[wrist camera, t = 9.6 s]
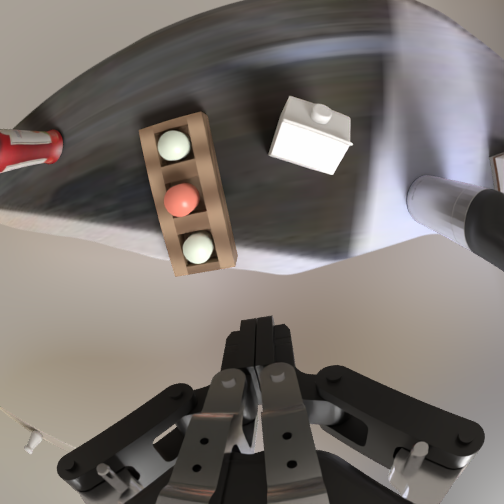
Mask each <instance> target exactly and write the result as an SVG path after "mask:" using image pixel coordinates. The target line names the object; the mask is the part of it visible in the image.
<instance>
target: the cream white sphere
mask: <svg viewBox="0 0 504 504" xmlns="http://www.w3.org/2000/svg"><path fill="white" fill-rule="evenodd" d="M214 246H215V243H214V239H213V237H212V235H211V234H210V233H209V232H207V231H204V230H198V231H195V232H193V233H192V234H191V235H190V236H189V237H188V239H187V240H186V241H185V242H184V245H183V253H184V256H185V257H186V258H187V260H189V261H190V262H192V263H195V264H201V263H204V262H205V261H207V260H208V259H209V257H210V255H211V253H212V251H213V249H214Z"/></svg>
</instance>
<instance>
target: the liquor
mask: <svg viewBox="0 0 504 504" xmlns="http://www.w3.org/2000/svg"><path fill="white" fill-rule="evenodd" d="M62 149H63V140H62V136H61V134H60V133H59V132H58V131H57V130H49V131H47V132H44V131H24V130H12V129H0V173H2V172H6V171H10V170H13V169H17V168H21V167H25V166H29V165H34V164H40V163H46V164H53V163H55V162H56V161H57V160H58V159H59V157H60V155H61V153H62Z"/></svg>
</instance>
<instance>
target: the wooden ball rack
mask: <svg viewBox="0 0 504 504" xmlns="http://www.w3.org/2000/svg"><path fill="white" fill-rule="evenodd" d="M168 131H178V132H182V133H185V134H187V135H188V136H189V137H190V139H191V142H192V150H191V152H190V154H189V155H188V156H187V157H186V158H184V159H181V160H166V159H164V158H163V157H162V156H161V155H160V153H159V151H158V142H159V139H160V138H161V136H162V135H163V134H164V133H166V132H168ZM139 134H140V139H141V144H142V149H143V154H144V159H145V163H146V168H147V172H148V177H149V181H150V185H151V190H152V194H153V198H154V202H155V206H156V210H157V214H158V218H159V221H160V225H161V229H162V233H163V236H164V240H165V243H166V247H167V250H168V254H169V257H170V261H171V264H172V267H173V271H174V274H175V276H176V277H177V276H182V275H189V274H195V273H200V272H206V271H212V270H218V269H224V268H230V267H235V266H236V261H237V257H238V255H237V250H236V246H235V241H234V237H233V232H232V228H231V223H230V219H229V214H228V210H227V205H226V201H225V196H224V192H223V187H222V182H221V178H220V173H219V168H218V164H217V159H216V154H215V149H214V145H213V140H212V135H211V130H210V126H209V121H208V116H207V115H206V114H204V113H203V112H197V113H193V114H189V115H186V116H182V117H179V118H175V119H172V120H169V121H165V122H162V123H159V124H156V125H153V126H150V127H147V128H144V129H141V130H139ZM181 183H190V184H192V185H194V186H195V187H196V188H197V190H198V191H199V194H200V201H199V204H198V206H197V207H196V208H195V209H194V210H193V211H191V212H190V213H189V214H188V215H186V216H183V217H176V216H173V215H171V214H170V213H169V212H168V211H167V209H166V208H165V205H164V197H165V194H166V192H167V191H168V190H169V189H170V188H171V187H173V186H176V185H178V184H181ZM198 230H204V231H207V232H209V233H210V234H211V235H212V237H213V239H214V243H215V246H214V249H213V251H212V253H211V255H210V257H209V259H208V260H207V261H205V262H204V263H201V264H195V263H192V262H190V261H189V260H187V258H186V257H185V256H184V253H183V245H184V242H185V241H186V240H187V239H188V237H189V236H190V235H191V234H192V233H193V232H195V231H198Z"/></svg>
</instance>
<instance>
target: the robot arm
mask: <svg viewBox="0 0 504 504" xmlns="http://www.w3.org/2000/svg"><path fill="white" fill-rule="evenodd" d="M407 205H408V210H409V213H410V215H411V216H412V218H413V219H414V220H415V221H417V222H418V223H420V224H422V225H424V226H426V227H428V228H429V229H431V230H433V231H435V232H437V233H439V234H441V235H443V236H444V237H446V238H448V239H450V240H452V241H454V242H455V243H457V244H459V245H461V246H462V247H465V248H466V249H468V250H470V251H471V252H473V253H475V254H477V255H478V256H480V257H482V258H483V259H485V260H486V261H488V262H490V263H491V264H493V265H495V266H496V267H498V268H499V269H501V270H502V271H504V193H502V192H499V191H496V190H493V189H489V188H485V187H481V186H476V185H472V184H468V183H464V182H459V181H455V180H450V179H445V178H440V177H435V176H430V175H424V176H421V177H419V178H418V179H416V180H415V181H414V182H413V184H412V185H411V187H410V189H409V192H408V196H407ZM258 405H262V408H263V412H261V421H262V432H263V443H264V451H261V452H258V453H254V450H255V442H256V434H257V427H258V415H257V412H258ZM174 424H176V426H177V427H176V428H175V429H174V430H172V431H171V432H170V433H168V434H167V435H166V436H164V437H163V438H162V439H160V440H159V441H158V442H156V443H155V444H153V441H154V439H155V438H156V437H158V436H159V435H160V434H162V433H163V432H164V431H166V430H167V429H168V428H169V427H171V426H172V425H174ZM310 424H319V425H320V427H321V428H322V429H323V430H324V431H326V432H327V433H329V434H331V435H332V436H333V437H335V438H337V439H338V440H340V441H341V442H343V443H345V444H346V445H348V446H350V447H351V448H353V449H355V450H356V451H358V452H360V453H361V454H363V455H365V456H367V457H368V458H370V459H372V460H373V461H375V462H377V463H379V464H381V465H382V466H384V467H386V468H388V469H390V472H389V481H390V483H391V485H392V486H393V487H395V488H396V489H397V490H398V491H399V492H400V494H401V496H400V495H399V494H397V493H395V492H393V491H392V490H390V489H388V488H387V487H385V486H383V485H381V484H380V483H378V482H377V481H375V480H374V479H372V478H370V477H369V476H367V475H366V474H364V473H363V472H361V471H360V470H358V469H357V468H355V467H354V466H352V465H351V464H349V463H348V462H346V461H345V460H343V459H342V458H340V457H338V456H336V455H334V454H332V453H329V452H325V451H321V450H316V448H315V444H314V440H313V436H312V432H311V428H310ZM484 439H485V434H484V431H483V429H482V427H481V426H480V425H479V424H478V423H476V422H474V421H471V420H468V419H466V418H463V417H460V416H458V415H455V414H452V413H449V412H447V411H444V410H442V409H440V408H437V407H435V406H432V405H430V404H427V403H424V402H422V401H420V400H417V399H415V398H413V397H410V396H408V395H406V394H403V393H401V392H399V391H396V390H394V389H392V388H390V387H387V386H385V385H383V384H381V383H378V382H376V381H374V380H372V379H370V378H368V377H365V376H363V375H361V374H359V373H357V372H355V371H353V370H351V369H349V368H346V367H344V366H339V365H333V366H328V367H325V368H323V369H322V370H320V371H319V372H318V374H317V375H313V374H305V373H303V372H301V371H299V370H298V369H297V368H296V367H295V359H294V353H293V346H292V341H291V334H290V329H289V328H288V327H287V326H286V325H285V324H281V325H275V326H274V320H273V317H272V316H267V317H260V318H257V319H256V318H254V319H247V320H241V326H240V331H234V332H231V334H230V335H229V336H228V337H227V339H226V344H225V350H224V355H223V361H222V366H221V371H220V372H218V373H217V374H216V375H215V376H214V377H213V379H212V381H211V384H210V385H208V386H206V387H203V388H200V389H196V390H193V389H192V387H191V386H189V385H187V384H184V383H178V384H174V385H171V386H169V387H168V388H166V389H165V390H163V391H162V392H161V393H159V394H158V395H156V396H155V397H154V398H152V399H151V400H149V401H148V402H146V403H145V404H143V405H142V406H141V407H139V408H138V409H136V410H135V411H133V412H132V413H130V414H129V415H127V416H126V417H124V418H123V419H121V420H120V421H118V422H117V423H115V424H114V425H112V426H111V427H109V428H108V429H106V430H105V431H103V432H102V433H100V434H99V435H97V436H95V437H94V438H92V439H91V440H89V441H87V442H86V443H84V444H83V445H81V446H79V447H78V448H76V449H74V450H73V451H71V452H70V453H68V454H66V455H65V456H63V457H62V458H61V459H60V461H59V462H58V465H57V472H58V474H59V476H60V477H61V478H62V479H63V480H64V481H66V482H67V483H68V484H69V485H70V486H71V487H72V488H73V489H74V490H75V491H77V492H78V493H79V494H80V496H81V497H82V499H83V501H84V502H85V503H86V504H440V502H441V501H442V500H443V498H444V497H445V495H446V494H447V492H448V491H449V489H450V488H451V486H452V485H453V483H454V482H455V480H456V479H457V478H458V477H459V476H460V474H461V473H462V472H463V471H464V469H465V468H466V467H467V466H468V464H469V463H470V462H471V460H472V459H473V458H474V456H475V455H476V453H477V452H478V451H479V450H480V448H481V447H482V445H483V443H484Z"/></svg>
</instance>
